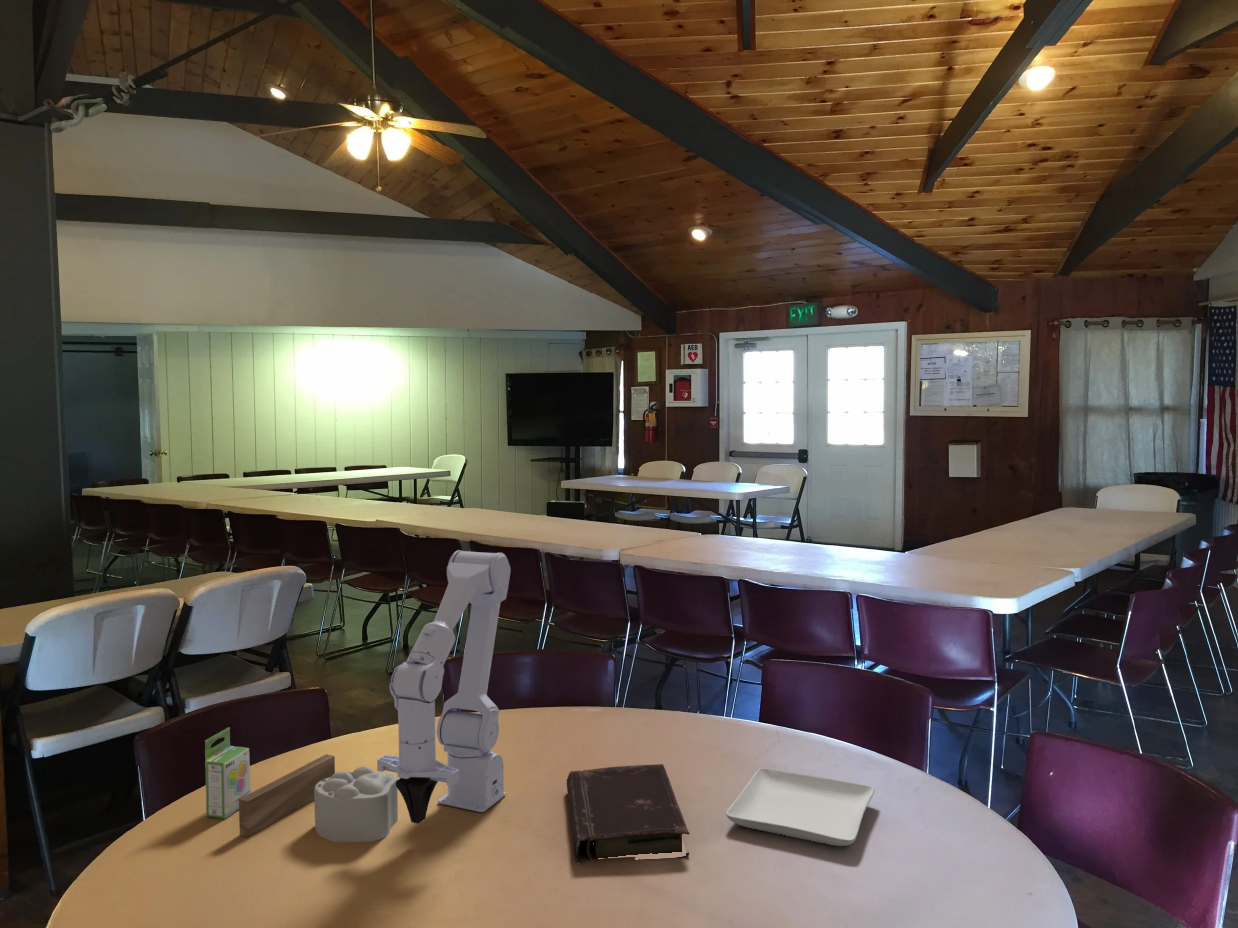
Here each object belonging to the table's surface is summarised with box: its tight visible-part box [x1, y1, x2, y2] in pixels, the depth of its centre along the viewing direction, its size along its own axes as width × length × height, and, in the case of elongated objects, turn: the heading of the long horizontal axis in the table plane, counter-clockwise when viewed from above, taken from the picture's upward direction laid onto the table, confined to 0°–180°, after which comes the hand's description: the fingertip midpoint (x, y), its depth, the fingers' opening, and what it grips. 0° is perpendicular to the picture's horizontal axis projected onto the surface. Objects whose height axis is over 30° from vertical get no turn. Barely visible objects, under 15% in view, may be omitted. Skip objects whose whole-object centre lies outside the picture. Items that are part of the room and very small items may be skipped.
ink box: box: [204, 726, 252, 820], centre depth 148 cm, size 7×4×13 cm, turn 168°
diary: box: [566, 763, 690, 864], centre depth 144 cm, size 19×25×5 cm
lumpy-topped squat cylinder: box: [313, 765, 399, 843], centre depth 143 cm, size 10×13×9 cm
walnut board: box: [238, 754, 336, 838], centre depth 148 cm, size 2×20×6 cm, turn 156°
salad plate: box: [725, 767, 876, 847], centre depth 146 cm, size 21×21×3 cm
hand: (418, 820), depth 138 cm, fingers closed
